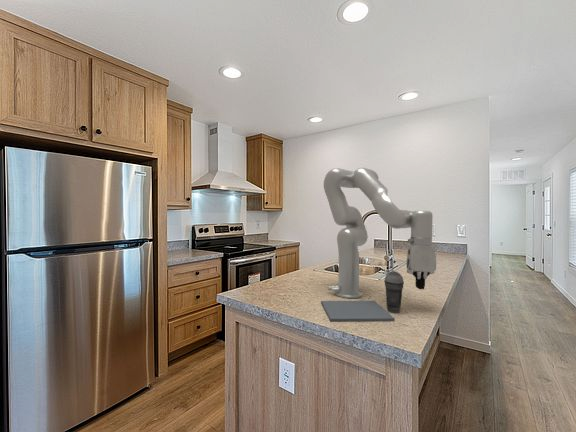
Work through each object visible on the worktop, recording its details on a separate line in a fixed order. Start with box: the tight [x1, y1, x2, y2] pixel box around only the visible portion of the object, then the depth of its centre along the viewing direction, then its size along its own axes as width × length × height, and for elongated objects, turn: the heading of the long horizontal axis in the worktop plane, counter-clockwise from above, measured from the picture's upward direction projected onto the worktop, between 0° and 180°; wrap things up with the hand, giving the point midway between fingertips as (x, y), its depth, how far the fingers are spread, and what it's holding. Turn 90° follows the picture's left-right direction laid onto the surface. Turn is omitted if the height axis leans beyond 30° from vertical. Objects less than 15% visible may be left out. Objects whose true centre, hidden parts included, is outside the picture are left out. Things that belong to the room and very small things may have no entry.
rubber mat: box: [320, 300, 396, 323], centre depth 108 cm, size 23×20×1 cm
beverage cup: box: [383, 259, 404, 314], centre depth 108 cm, size 7×7×20 cm
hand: (420, 288), depth 109 cm, fingers closed
